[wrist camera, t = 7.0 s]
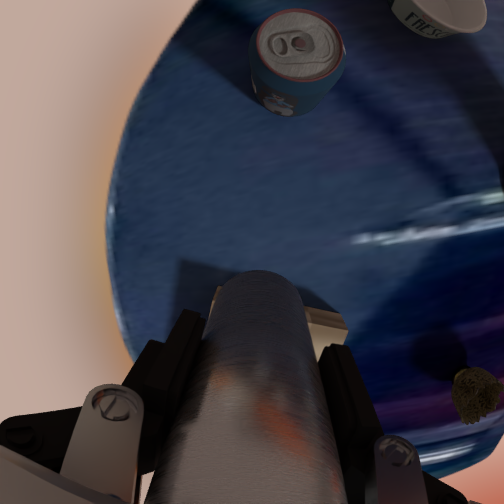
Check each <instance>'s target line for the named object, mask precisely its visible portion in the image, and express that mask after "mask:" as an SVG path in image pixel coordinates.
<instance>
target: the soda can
mask: <svg viewBox="0 0 504 504" xmlns="http://www.w3.org/2000/svg"><path fill="white" fill-rule="evenodd" d="M248 56H249V63H250V71H251V78H252V86H253V91H254V94H255V96H256V98H257V100H258V101H259V102H260V103H261V105H262V106H263V107H265V108H266V109H267V110H269V111H270V112H272V113H275V114H277V115H281V116H287V117H294V116H300V115H303V114H305V113H307V112H309V111H311V110H312V109H314V108H315V107H316V106H317V104H318V103H319V102H320V101H321V100H322V98H323V97H324V96H325V95H326V94H327V93H328V91H329V90H330V89H331V88H332V87H333V85H334V84H335V83H336V82H337V81H338V80H339V78H340V77H341V75H342V73H343V71H344V68H345V64H346V53H345V48H344V45H343V41H342V38H341V36H340V33H339V32H338V30H337V29H336V27H335V26H334V25H333V24H332V23H331V22H330V21H329V20H328V19H326V18H325V17H323V16H322V15H320V14H318V13H316V12H313V11H310V10H306V9H286V10H282V11H279V12H277V13H275V14H273V15H271V16H270V17H268V18H267V19H266V20H265V21H264V22H263V23H261V24H260V25H259V26H258V27H257V28H256V30H255V31H254V33H253V34H252V36H251V38H250V41H249V46H248Z"/></svg>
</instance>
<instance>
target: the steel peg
mask: <svg viewBox="0 0 504 504" xmlns="http://www.w3.org/2000/svg"><path fill="white" fill-rule="evenodd" d="M144 504H348V500H347V495H346V490H345V485H344V480H343V475H342V470H341V465H340V460H339V455H338V450H337V446H336V441H335V436H334V432H333V427H332V423H331V418H330V414H329V409H328V405H327V400H326V396H325V392H324V387H323V383H322V379H321V375H320V371H319V366H318V362H317V358H316V354H315V350H314V346H313V342H312V338H311V334H310V330H309V326H308V322H307V318H306V314H305V310H304V306H303V302H302V299H301V296H300V294H299V292H298V291H297V289H296V288H295V286H294V285H293V284H292V283H291V282H290V281H288V280H287V279H286V278H284V277H283V276H281V275H279V274H277V273H274V272H270V271H265V270H252V271H247V272H243V273H240V274H238V275H236V276H234V277H233V278H231V279H230V280H229V281H227V282H226V283H225V284H224V285H223V287H222V288H221V289H220V291H219V293H218V295H217V297H216V300H215V302H214V305H213V308H212V311H211V313H210V316H209V319H208V321H207V324H206V327H205V330H204V332H203V336H202V340H201V343H200V346H199V349H198V352H197V354H196V357H195V360H194V363H193V366H192V369H191V371H190V374H189V377H188V380H187V383H186V386H185V388H184V391H183V394H182V397H181V400H180V403H179V406H178V409H177V411H176V414H175V417H174V420H173V423H172V424H171V426H170V428H169V431H168V433H167V436H166V439H165V442H164V445H163V448H162V451H161V454H160V457H159V460H158V463H157V465H156V468H155V471H154V475H153V477H152V480H151V483H150V486H149V489H148V492H147V495H146V498H145V501H144Z"/></svg>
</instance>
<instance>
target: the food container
mask: <svg viewBox="0 0 504 504" xmlns="http://www.w3.org/2000/svg"><path fill="white" fill-rule="evenodd" d="M388 3H389V6H390V8H391V10H392V11H393V13H394V14H395V15H396V17H397V18H398V19H399V20H400V21H401V22H402V23H403V24H404V25H405V26H406V27H408V28H409V29H411V30H412V31H414V32H415V33H417V34H419V35H422V36H424V37H428V38H434V39H437V38H442V37H446V36H449V35H453V34H457V33H461V32H462V33H474V32H477V31H479V30H481V29H482V28H483V26H484V25H485V23H486V19H487V10H486V5H485V2H484V0H388Z"/></svg>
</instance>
